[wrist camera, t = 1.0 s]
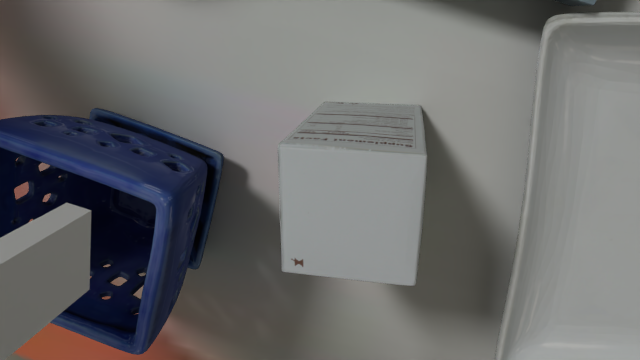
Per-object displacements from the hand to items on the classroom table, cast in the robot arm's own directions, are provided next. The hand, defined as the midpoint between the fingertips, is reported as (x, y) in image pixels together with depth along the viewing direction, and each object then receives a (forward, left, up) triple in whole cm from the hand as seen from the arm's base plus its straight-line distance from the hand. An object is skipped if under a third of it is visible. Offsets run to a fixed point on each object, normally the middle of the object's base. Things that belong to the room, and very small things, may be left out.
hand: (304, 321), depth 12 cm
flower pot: (-16, -11, -23) cm, 30 cm away
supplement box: (0, -2, -23) cm, 23 cm away
